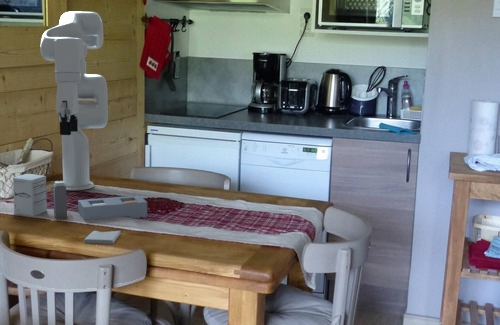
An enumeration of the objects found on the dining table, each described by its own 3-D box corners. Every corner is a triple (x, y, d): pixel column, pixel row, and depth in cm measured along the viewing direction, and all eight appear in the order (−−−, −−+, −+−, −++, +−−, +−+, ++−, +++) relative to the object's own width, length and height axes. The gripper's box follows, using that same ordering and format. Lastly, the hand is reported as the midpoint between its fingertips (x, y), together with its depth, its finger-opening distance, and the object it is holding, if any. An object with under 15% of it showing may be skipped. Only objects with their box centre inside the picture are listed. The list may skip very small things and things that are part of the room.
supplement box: (13, 216, 209) (11, 177, 207) (28, 210, 216) (27, 172, 213) (33, 219, 207) (31, 179, 204) (47, 213, 213) (46, 175, 211)
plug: (54, 215, 208) (53, 181, 206) (65, 214, 209) (64, 180, 207) (55, 218, 205) (54, 183, 203) (67, 217, 206) (66, 182, 204)
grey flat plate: (47, 217, 209) (47, 214, 209) (69, 215, 212) (69, 212, 212) (50, 224, 202) (50, 220, 202) (74, 221, 205) (74, 218, 205)
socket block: (78, 215, 212) (78, 199, 211) (139, 209, 221) (139, 194, 220) (83, 222, 204) (83, 206, 203) (147, 217, 213) (147, 201, 212)
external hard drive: (84, 244, 186) (95, 231, 199) (113, 245, 186) (123, 232, 198) (84, 239, 186) (95, 226, 198) (113, 240, 186) (123, 226, 198)
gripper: (62, 77, 214) (63, 130, 217) (48, 78, 197) (50, 136, 200) (85, 77, 214) (86, 130, 217) (74, 79, 197) (75, 136, 200)
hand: (69, 133), depth 208 cm, fingers open, 9 cm apart
